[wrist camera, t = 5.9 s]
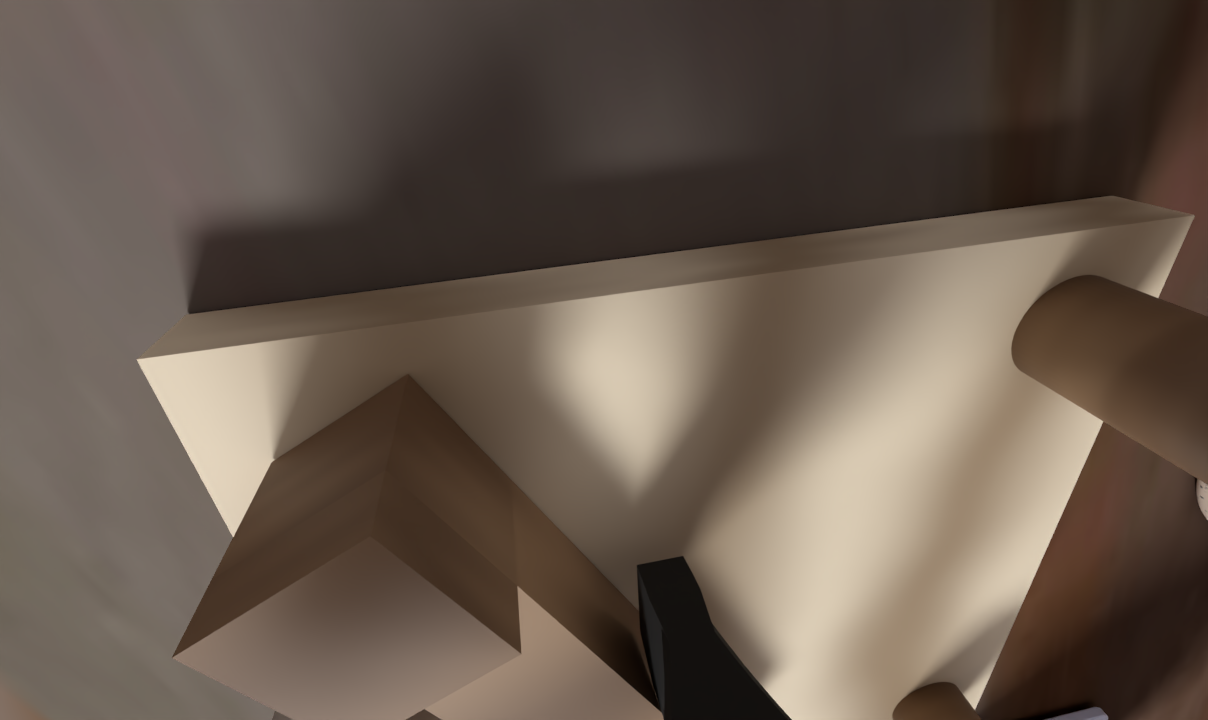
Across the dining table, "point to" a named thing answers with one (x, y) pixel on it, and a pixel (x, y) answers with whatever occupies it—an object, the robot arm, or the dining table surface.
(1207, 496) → the teacup with lid
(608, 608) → the folding leg
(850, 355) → the stool seat
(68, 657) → the dining table surface
